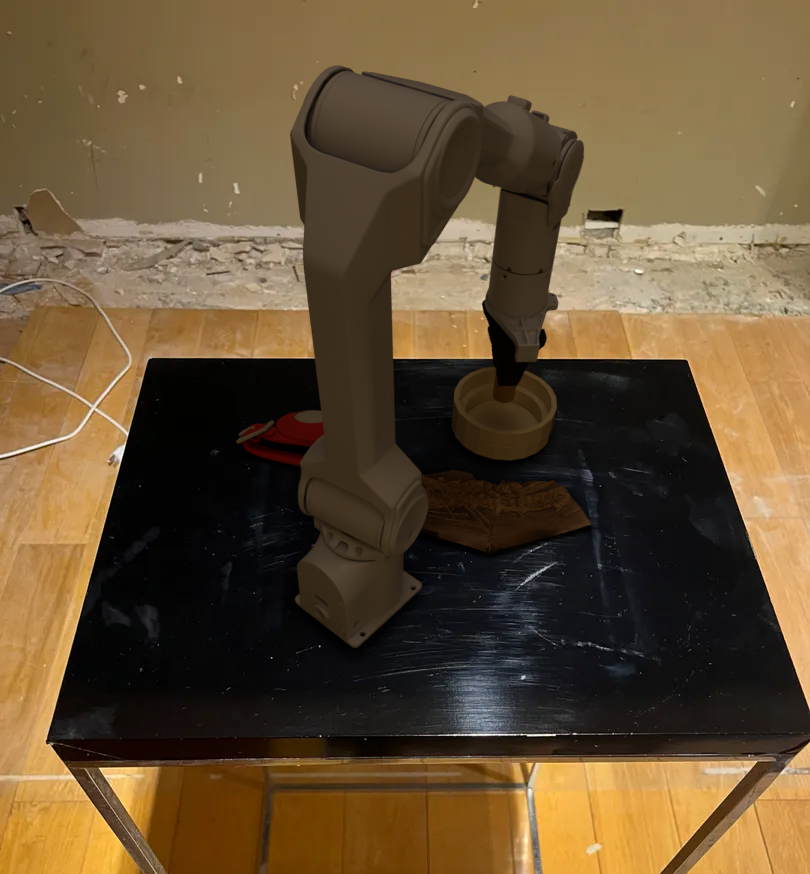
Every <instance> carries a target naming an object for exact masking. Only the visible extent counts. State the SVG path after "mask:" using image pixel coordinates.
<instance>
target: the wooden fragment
mask: <svg viewBox="0 0 810 874" xmlns="http://www.w3.org/2000/svg"><path fill="white" fill-rule="evenodd" d="M421 481H422V486H423V488H424V489H425V490H426V493H427V498H428V512H427V516H426V519H425V522H424V524H423V527H422V529H421V531H420V533H423V534H426V535H429V536H432V537H436V538H439V539H442V540H445V541H449V542H452V543H456V544H460V545H463V546H466V547H470V548H472V549H476V550H478V551H479V550H480V551H482V552H484V553H486V554H489V555H492V554H495V553H497V552H499V551H501V550H505V549H508V548H511V547H515V546H520V545H523V544H527V543H531V542H534V541H538V540H541V539H546V538H551V537H553V536H557V535H560V534H561V535H562V534H566V533H569V532H572V531H575V530H578V529H581V528H584V527H588V526H590V527H591V528H592V530H594V527H593V525H592V522H591V520H590V519H589V518H588V516H587V515H586V513H585V512H584V510H583V508H582V507H581V505H579V503H577V501H576V500H575V499H574V498H572V496H571V494H570V493H569V490H568V489H567V488H566V487H565V486H563V485H559V484H558V483H557V482H556V481H555V480H554V479H552V480H550V481H545V480H542V481H540V480H530V481H524V482H523V483H519V482H517V481H506V480H501V481H500V483H499V484H496V483H491V482H489V481H488V480H483V479H478V480H477V479H476V478H475V477H474V475H473V474H472V473H471V472H468V471H462V470H455V469H451V470H447V471H440V472H437V473H436V472H433V473H432V474H429V473H427V474H421Z"/></svg>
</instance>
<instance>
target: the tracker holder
mask: <svg viewBox="0 0 810 874" xmlns="http://www.w3.org/2000/svg"><path fill="white" fill-rule="evenodd" d="M273 425H275V426H273ZM322 435H324V428H323V420H322V412H321V409H302V410H299V411H293V412H290V413H287V414H285V415H283V416H281V417H280V418H278V419H277V421H276V423H275V421H274V420H269V421H268V422H266V423H253V424H251V425H249V426H248V427H247V428H245V429H243V430H242V431H240V432H239V433H238V436H239V438H238V439H237V440H236V441H235V442H236V444H238V445H239V444H242V446H243V448H244V450H245V451H247V452H248V453H250V454H252V455H253V456H257V457H260V458H263V459H265V460H266V459H267V460H270V461H274V462H278V463H283V464H286V465H287V464H288V465H292V466H296V467H300V468H301V466H300V462H301V460H302V458H303V457H304V455H305V454H300V453H296V452H290V451H285V450H281V449H277V448H271V447H268V446H265V445H262V444H259V442H261V441H262V439H264V440H266V441H268V442H274V443H278V444H279V443H280V444H284V445H285V444H287V445H293V446H302V447H309V448H310V447H311V446H312V445H313V443H314V442H315V441H316V440H317V439H319V438H320V437H321V436H322Z"/></svg>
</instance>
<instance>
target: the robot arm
mask: <svg viewBox="0 0 810 874" xmlns="http://www.w3.org/2000/svg"><path fill="white" fill-rule="evenodd" d="M532 106H533V104H532V102H531V101H529V100H528V99H527V98H523V97H519V96H516V95H512V94H510V95H508V97H507V99H506V101H504V100H503V101H495V102H491V103H488V104H487V105H484V104H483V103H482V102H480V101H479V100H477V99H475V98H473V97H471V96H470V95H468V94H466V93H462V92H458V91H455V90H451V89H448V88H444V87H440V86H436V85H434V84H430V83H426V82H424V81H419V80H414V79H409V78H408V79H407V78H405V77H398V76H393V75H389V74H383V73H379V72H374V71H364V70H363V71H362V72H361V73H358V72H355V71H354V70H353V69H352V68H350V67H347V66H344V65H339V64H338V65H331V66H328V67H327V68H325V69H324V70H323V71H322V72H321V73H319V75H318V76H316V78H315V79H314V81H313V82H312V84H311V86H310V87H309V89H308V91H307V93H306V95H305V96H304V99H303V101H302V105H301V107H300V109H299V112H298V114H297V115H296V118H295V121H294V124H293V125H292V128H291V129H290V132H289V138H290V145H291V146H290V147H291V154H292V162H293V163H292V164H293V171H294V180H295V188H296V195H297V205H298V213H299V219H300V221H301V222H302V225H303V241H302V242H303V245H302V265H303V267H302V268H303V275H304V282H305V283H304V284H305V291H306V298H307V306H308V308H307V309H308V315H309V323H310V324H309V325H310V332H311V338H312V339H311V340H312V347H313V353H314V362H315V371H316V380H317V387H318V396H319V404H320V410H321V412H322V420H323V428H324V435H322V436H321V437H320V438H319V439H317V440H316V441H315V442H314V443H313V445H312V446H311V447H309V448H308V450H306V452H305V453H304V454H303V455H304V457H303V458H302V460H301V462H300V466H301V467H300V466H299V467H300V479H299V482H298V486H297V503H298V508H299V509H300V511H301V512H302V513H303V514H305V515H307V516H309V517H313V526H314V528H316V529H317V531H319V535H318V538H317V539H316V541H315V543H314V544H313V546H312V548H310V550H309V551H308V553H307V554H306V555H305V556H304V557H302V558H301V559H300V560H299V561H298V563H297V566H296V573H297V583H298V589H299V590H298V591H299V592H298V594H297V595H296V596H295V597H294V602H295V604H296V605H297V606H298V607H299V608H301V609H302V610H304V611H305V612H306V613H307V614H309V615H310V616H311V617H312V618H314V619H315V620H316V621H318V622H319V623H320V624H322V625H323V626H324V627H325V628H327V629H328V630H329V631H331V633H333V634H334V635H336V636H337V637H338V638H340V639H341V640H342V641H343V642H345V643H346V644H347V645H348V646H350V647H351V648H354V649H357V648H359V647H360V646H362V644H364V643H365V642H366V641H368V639H369V638H370V637H372V635H373V634H374V633H376V632H377V631H378V630H379V629H380V628H381V627H382V626H383V625H385V623H387V622H388V620H390V619H391V618H392V617H393V616H394V615H396V613H397V612H398V611H399V610H401V609H402V608H403V607H404V606H405V605H406V604H407V603H409V601H410V600H412V599H413V598H414V597H415V596H416V595H417V594H418V593H419V592H420V591H421V590H422V588H423V584H422V582H421V581H419V580H418V579H416V578H415V577H414V576H412V575H411V574H410V573H408V572H407V571H405V570H404V560H405V559H404V557H405V552H406V551H407V550H408V549H409V548H410V547H411V546H413V544H414V542H415V541H416V540H417V538H418V536H419V535H420V533H421V532H420V531H421V529H422V527H423V524H424V522H425V519H426V516H427V512H428V498H427V493H426V490H425V489H424V488H423V486H422V481H421V475H422V472H421V470H420V469H419V468H418V466H416V464H414V462H413V461H412V460H411V459H410V458H409V457H408V456H407V455H406V454H405V452H404V451H403V450H402V449H401V448H400V447H399V446H398V444H397V442H396V411H395V410H396V409H395V378H394V375H395V374H394V373H395V371H394V337H393V334H394V333H393V301H392V299H393V298H392V297H393V296H392V272H393V271H397V270H402V269H405V268H409V267H413V266H417V265H420V264H422V262H423V261H424V260H425V258H426V257H427V255H428V253H429V252H430V250H431V249H432V247H433V246H434V245H435V244H436V242H437V241H438V239H439V237H440V236H441V234H442V233H443V231H444V230H445V228H446V226H447V225H448V223H449V222H450V220H451V218H452V217H453V215H454V213H455V212H456V211H457V209H458V208H459V206H460V204H461V203H462V202H463V200H464V199H465V198H466V196H467V195H468V193H469V192H470V190H471V187H472V186H473V183H474V180H475V179H477V180H478V181H480V182H481V183H483V184H486V185H489V186H491V187H493V188H499V195H498V204H497V205H498V206H497V214H496V222H495V229H494V230H495V231H494V238H493V246H492V247H493V248H492V256H491V264H490V273H489V281H488V282H489V283H488V289H487V291H486V294H485V297H484V300H482V302H481V307H482V312H483V315H484V318H485V319H486V321H487V324H488V325H487V334H488V338H489V342H490V345H491V358H492V363H493V367H495V368H496V376H497V381H498V385H499V386H517V385H518V384H519V382H520V380H521V378H522V376H523V374H524V372H525V371H527V368H528V366H529V364H530V363H533V362H534V363H536V362H538V358H539V352H540V350H541V349H542V348H544V347H545V345H546V343H547V340H548V336H547V332H546V329H545V328H543V325H544V322H545V319H546V315H547V313H548V312H551V311H552V312H553V311H557V310H558V307H559V304H560V303H559V300H558V297H557V294H556V293H554V292H549V290H550V286H551V285H550V284H551V280H552V274H553V268H554V263H555V258H556V253H557V247H558V242H559V236H560V230H561V224H562V219H563V218H564V217H565V216H566V215H567V214H568V211H569V208H570V206H571V201H572V197H573V193H574V190H575V187H576V185H577V183H578V179H579V177H580V174H581V171H582V167H583V164H584V160H585V145H584V142H583V140H581V139H578V134H577V132H576V131H575V130H571V129H568V128H565V127H561V126H558V125H553V124H551V123H549V122H550V115H548V114H547V113H545V112H542V111H539V110H531V109H532ZM362 635H364V636H362Z"/></svg>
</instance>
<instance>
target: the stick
mask: <svg viewBox="0 0 810 874" xmlns="http://www.w3.org/2000/svg"><path fill="white" fill-rule="evenodd" d="M515 392H516V386H499V385H498V381H497V376H496V372H495V380H494V387H493V394H492V395H493V398H494V399H495V400H496V401H497V402H500V403H509V402H511V401H513V400H514V398H515Z"/></svg>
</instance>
